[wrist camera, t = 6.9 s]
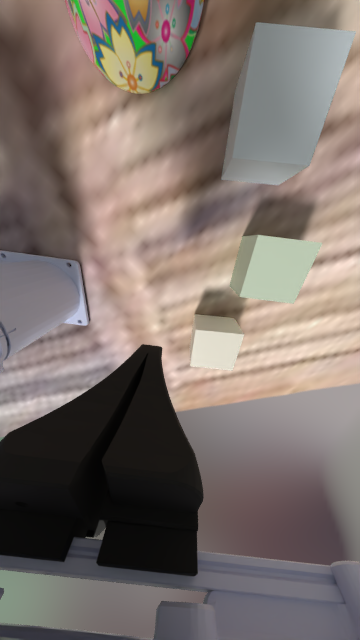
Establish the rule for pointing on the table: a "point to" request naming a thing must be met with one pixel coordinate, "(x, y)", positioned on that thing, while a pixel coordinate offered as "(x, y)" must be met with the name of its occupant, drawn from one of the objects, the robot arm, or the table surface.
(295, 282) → the block sage
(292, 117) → the block bluegrey
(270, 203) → the table surface
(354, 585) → the robot arm
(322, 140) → the table surface
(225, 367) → the block cream
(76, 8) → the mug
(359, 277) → the table surface
